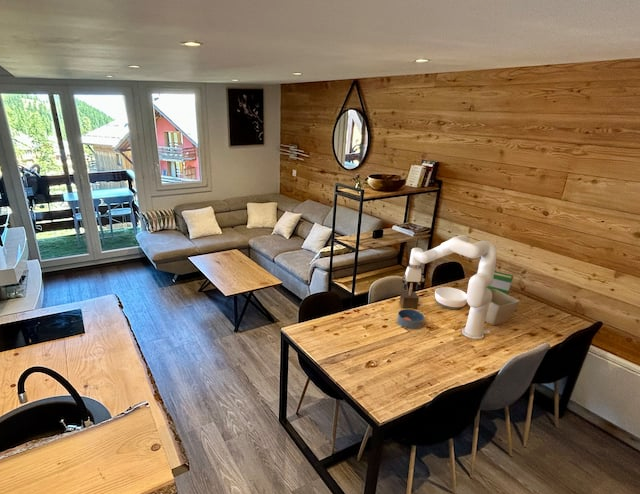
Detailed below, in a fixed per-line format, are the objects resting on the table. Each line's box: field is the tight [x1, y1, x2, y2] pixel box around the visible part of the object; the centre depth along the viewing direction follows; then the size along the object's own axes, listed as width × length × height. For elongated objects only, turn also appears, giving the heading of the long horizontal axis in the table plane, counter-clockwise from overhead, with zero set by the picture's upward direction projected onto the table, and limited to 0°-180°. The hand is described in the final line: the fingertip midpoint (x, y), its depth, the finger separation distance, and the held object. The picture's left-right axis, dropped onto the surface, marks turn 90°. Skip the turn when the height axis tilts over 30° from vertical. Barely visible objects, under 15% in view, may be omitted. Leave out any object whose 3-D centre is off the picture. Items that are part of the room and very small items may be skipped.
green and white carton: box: [487, 270, 515, 295], centre depth 277 cm, size 18×7×24 cm, turn 52°
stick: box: [408, 282, 414, 296], centre depth 274 cm, size 2×2×18 cm
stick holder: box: [398, 290, 420, 310], centre depth 275 cm, size 10×10×9 cm
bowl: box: [434, 286, 468, 311], centre depth 279 cm, size 22×22×8 cm
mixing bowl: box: [396, 308, 425, 330], centre depth 254 cm, size 16×16×6 cm
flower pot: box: [485, 289, 521, 326], centre depth 258 cm, size 19×19×17 cm
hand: (410, 289), depth 272 cm, fingers open, 7 cm apart
